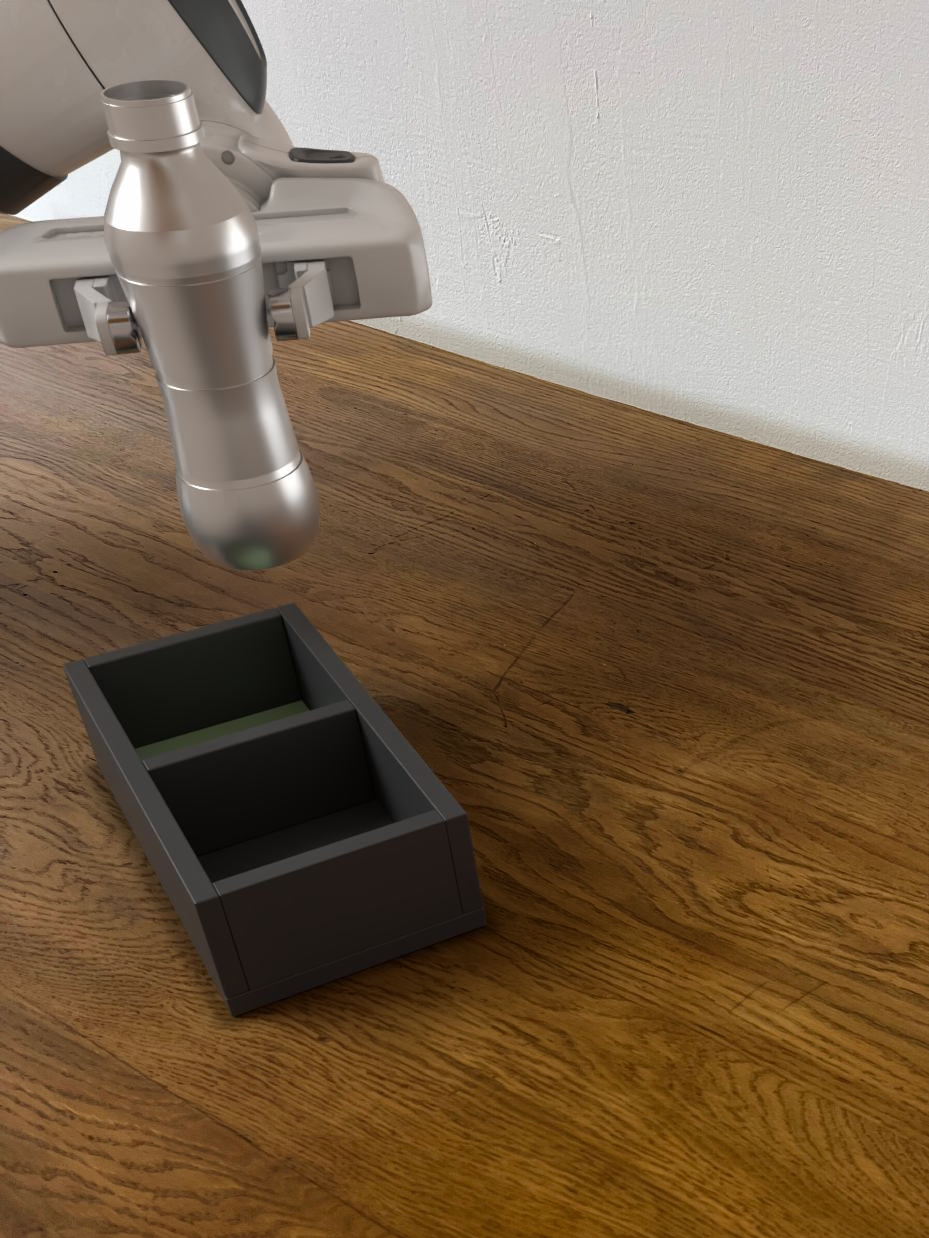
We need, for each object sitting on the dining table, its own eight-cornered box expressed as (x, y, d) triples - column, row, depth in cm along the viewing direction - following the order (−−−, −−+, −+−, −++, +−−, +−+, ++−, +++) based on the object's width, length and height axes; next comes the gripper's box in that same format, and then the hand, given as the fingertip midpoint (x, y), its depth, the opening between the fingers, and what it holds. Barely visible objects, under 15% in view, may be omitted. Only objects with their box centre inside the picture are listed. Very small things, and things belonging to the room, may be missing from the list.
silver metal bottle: (317, 516, 80) (217, 64, 67) (341, 574, 76) (238, 100, 62) (187, 538, 79) (57, 79, 65) (203, 598, 74) (66, 118, 60)
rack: (232, 1017, 66) (194, 904, 62) (100, 770, 79) (61, 663, 75) (487, 925, 70) (467, 813, 66) (319, 705, 84) (294, 601, 80)
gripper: (-27, 179, 75) (-74, 271, 65) (408, 150, 78) (425, 234, 69) (18, 317, 79) (-20, 423, 70) (428, 284, 83) (447, 381, 73)
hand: (205, 329), depth 69 cm, fingers closed on silver metal bottle, 6 cm apart
